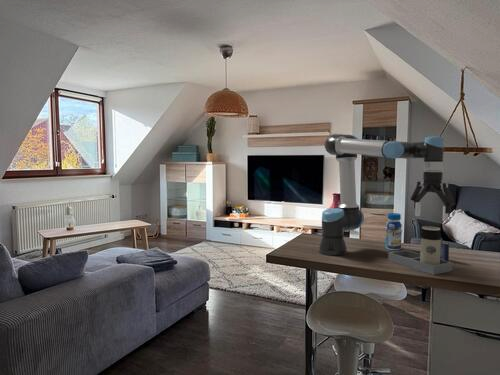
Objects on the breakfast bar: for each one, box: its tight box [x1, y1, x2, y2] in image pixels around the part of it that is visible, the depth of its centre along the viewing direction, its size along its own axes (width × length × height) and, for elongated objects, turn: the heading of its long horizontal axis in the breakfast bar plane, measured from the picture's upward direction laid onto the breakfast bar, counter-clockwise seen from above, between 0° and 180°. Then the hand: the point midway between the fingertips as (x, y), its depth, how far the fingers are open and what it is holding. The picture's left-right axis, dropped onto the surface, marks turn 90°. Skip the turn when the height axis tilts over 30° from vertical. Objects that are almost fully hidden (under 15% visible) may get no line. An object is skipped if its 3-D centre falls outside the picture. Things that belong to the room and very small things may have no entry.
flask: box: [440, 237, 450, 262], centre depth 165 cm, size 9×3×11 cm, turn 24°
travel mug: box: [419, 225, 442, 266], centre depth 150 cm, size 8×8×18 cm
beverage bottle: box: [385, 212, 403, 251], centre depth 186 cm, size 8×8×20 cm
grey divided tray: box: [387, 249, 453, 276], centre depth 156 cm, size 24×13×4 cm, turn 25°
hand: (430, 218), depth 149 cm, fingers open, 13 cm apart
